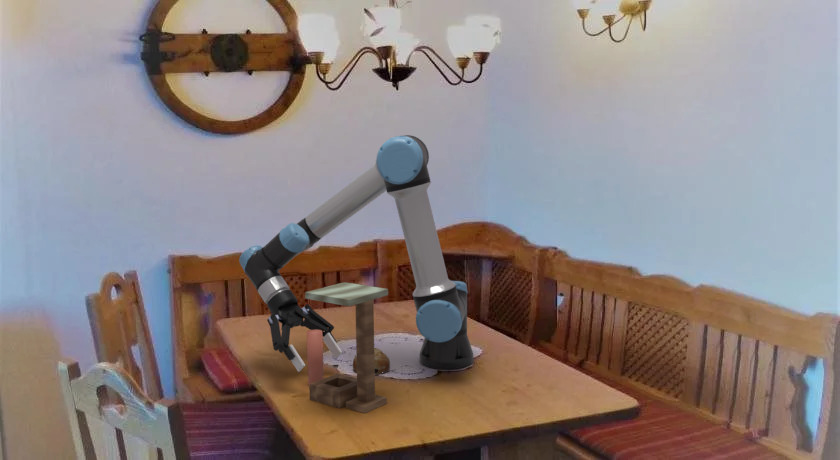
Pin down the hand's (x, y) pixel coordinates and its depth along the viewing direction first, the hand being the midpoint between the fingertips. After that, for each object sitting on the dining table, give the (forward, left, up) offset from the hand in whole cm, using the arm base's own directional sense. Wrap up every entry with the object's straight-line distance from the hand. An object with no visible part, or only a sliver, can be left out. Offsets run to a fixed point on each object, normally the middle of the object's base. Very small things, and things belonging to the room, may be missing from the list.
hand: (320, 361), depth 206 cm
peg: (+2, -1, -6) cm, 7 cm away
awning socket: (-10, +10, -6) cm, 15 cm away
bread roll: (-9, -15, -7) cm, 19 cm away
